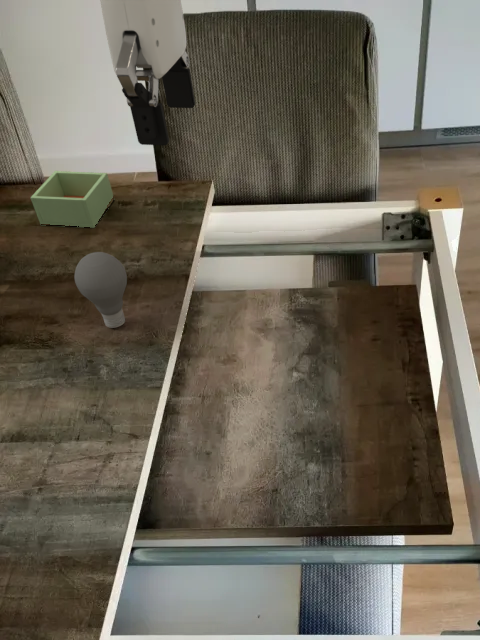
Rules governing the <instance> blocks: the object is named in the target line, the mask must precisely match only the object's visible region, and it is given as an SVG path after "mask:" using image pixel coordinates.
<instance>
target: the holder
mask: <svg viewBox="0 0 480 640" xmlns="http://www.w3.org/2000/svg"><path fill="white" fill-rule="evenodd" d="M113 196H114V193H113V189H112V185H111V182H110V178H109V175H108V173H107V172H94V171H93V172H92V171H91V172H90V171H70V170H69V171H67V170H54V171H53V172H52V173H51V175H50V176H49V177H47V179H46V180H45V181H44V182H43V183H42V184H41V185H40V187H39V188H38V189H37V190H36V191H35V192H34V193H33V194H32V195H31V196H30V200H31V204H32V206H33V209H34V211H35V214H36V216H37V220H38V221H39V224H40V225H41V224H50V225H65V226H69V225H70V226H77V227H76V228H84V227H90V228H89V229H95V228H96V226H97V225H98V224H99V222H100V221H99V219H100V218H101V216H102V214H103V213H104V211H105V209H106V208H107V205H108V204H109V202H110V201H111V199H112V198H113ZM101 219H102V218H101ZM101 219H100V220H101ZM98 221H99V222H98ZM96 224H97V225H96ZM95 225H96V226H95ZM65 226H64V227H65ZM78 226H79V227H78Z"/></svg>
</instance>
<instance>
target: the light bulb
mask: <svg viewBox="0 0 480 640" xmlns="http://www.w3.org/2000/svg"><path fill="white" fill-rule="evenodd" d="M73 276H74V283H75V285H76V288H77V290H78V291H79V293H80V294H81V295H82V296H83V297H84V298H86V299H87V300H88V301H90V302H91V303H92V304H93V305H94V306H95V308H96V310H97V311H98V312H99V314H101V316H102V319H103V321H104V322H103V323H104V325H105V326H106V327H107V328H110V329H113V328H114V329H115V328H118V327H121V326H122V325H123V324H125V322H126V316H125V314H124V310H123V305H124V301H123V298H124V297H123V296H124V293H125V291H126V287H127V282H128V276H127V271H126V268H125V266H124V265H123V263H122V262H121V261H120V260H119V259H117V257H115V256H113V255H111V254H110V253H107V252H103V251H93V252H90V253H87V254H85V256H83V257H82V258H81V259H80V260H79V262H78V263H77V265H76V267H75V271H74V275H73Z"/></svg>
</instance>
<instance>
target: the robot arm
mask: <svg viewBox="0 0 480 640" xmlns="http://www.w3.org/2000/svg"><path fill="white" fill-rule="evenodd" d="M99 1H100V9H101V13H102V17H103V18H102V19H103V25H104V28H105V35H106V41H107V44H108V50H109V55H110V58H111V63H112V68H113V72H114V73H115V75H116V77H117V80H118V81H119V83H120V85H121V92H122V93H123V95H124V97H125V98H126V104H127V106H128V107H129V108H130V113H131V116H132V121H133V125H134V130H135V133H136V138H137V141H138V143H139V145H144V146H167V145H168V144H169V143H170V137H169V131H168V126H167V121H166V117H165V113H164V107H163V103H162V102H159V81H160V79H161V80H162V86H163V91H164V95H165V101H166V105H167V107H168V108H170V109H194V107H195V106H196V99H195V93H194V87H193V80H192V74H191V68H189V67H190V57H189V54H188V52H187V50H186V49H187V45H188V42H187V40H188V39H187V32H186V31H187V30H186V23H185V17H184V11H183V6H182V0H99ZM142 82H148V86H147V87H148V88H146V86H145V85H144V84H143V83H142Z"/></svg>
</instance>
